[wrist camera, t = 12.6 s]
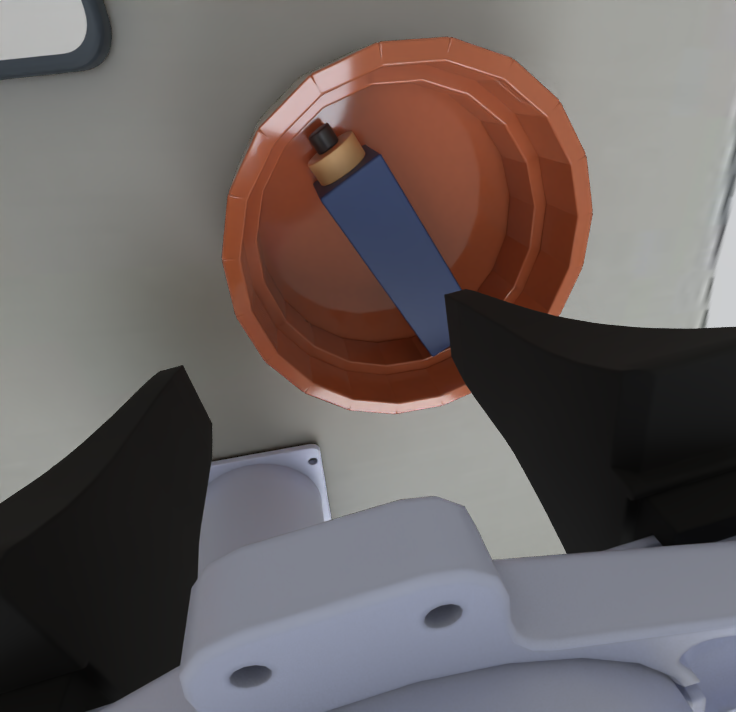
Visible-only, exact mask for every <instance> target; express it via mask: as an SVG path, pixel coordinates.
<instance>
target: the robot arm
mask: <svg viewBox="0 0 736 712" xmlns="http://www.w3.org/2000/svg"><path fill="white" fill-rule="evenodd" d="M444 297H445V306H446V314H447V323H448V331H449V340H450V348H451V357H452V359H453V361H454V363H455V365H456V367H457V369H458V371H459V373H460V375H461V377H462V379H463V381H464V383H465V384H466V386H467V387H468V389H469V390H470V391H471V393H472V394H473V396H474V397H475V399H476V400H477V401H478V403H479V404H480V405H481V407H482V408H483V410H484V411H485V412H486V414H487V415H488V417H489V418H490V419H491V421H492V422H493V423H494V425H495V426H496V428H497V429H498V430H499V432H500V433H501V434H502V436H503V437H504V439H505V440H506V442H507V443H508V445H509V446H510V448H511V449H512V451H513V452H514V454H515V456H516V458H517V459H518V461H519V463H520V465H521V467H522V468H523V470H524V472H525V474H526V476H527V477H528V479H529V481H530V483H531V485H532V487H533V488H534V490H535V492H536V494H537V496H538V498H539V500H540V502H541V504H542V505H543V507H544V509H545V511H546V513H547V515H548V517H549V519H550V521H551V523H552V525H553V527H554V529H555V531H556V533H557V535H558V537H559V539H560V541H561V543H562V545H563V547H564V549H565V551H566V553H567V554H559V555H547V556H534V557H521V558H508V559H496V560H492V558H491V556H490V554H489V552H488V550H487V548H486V546H485V544H484V542H483V540H482V537H481V535H480V533H479V531H478V529H477V527H476V525H475V523H474V522H473V520H472V518H471V517H470V515H469V513H468V511H467V510H466V508H465V506H462V505H460V504H457V503H454V502H451V501H448V500H446V499H443V498H440V497H437V496H428V497H419V498H409V499H400V500H396V501H393V502H390V503H386V504H383V505H379V506H376V507H373V508H369V509H366V510H363V511H359V512H356V513H352V514H349V515H346V516H342V517H339V518H335V519H331V513H330V507H329V501H328V495H327V488H326V482H325V476H324V470H323V464H322V458H321V452H320V448H319V446H318V445H316V444H307V445H301V446H296V447H290V448H285V449H279V450H274V451H268V452H263V453H257V454H252V455H246V456H241V457H235V458H230V459H224V460H219V461H213V462H211V461H212V422H211V420H210V418H209V416H208V414H207V412H206V410H205V408H204V406H203V404H202V402H201V400H200V398H199V396H198V394H197V392H196V390H195V388H194V386H193V384H192V382H191V380H190V378H189V376H188V374H187V372H186V370H185V368H184V366H183V365H181V366H178V367H174V368H170V369H166V370H163V371H160V372H158V373H157V374H156V375H154V376H153V377H152V378H151V379H150V380H149V381H147V382H146V383H145V384H144V385H143V386H142V387H141V388H140V389H139V390H138V391H137V392H136V393H135V394H134V395H133V396H132V397H131V398H130V399H129V400H128V401H127V402H126V403H125V404H124V405H123V406H122V407H121V408H120V409H119V410H118V411H117V412H116V413H115V414H114V415H113V416H112V417H111V418H109V419H108V420H107V421H106V422H105V423H104V424H103V425H102V426H101V427H100V428H99V429H97V430H96V431H95V432H94V433H93V434H92V435H91V436H90V437H89V438H88V439H86V440H85V441H84V442H83V443H82V444H81V445H80V446H78V447H77V448H76V449H75V450H74V451H73V452H71V453H70V454H69V455H68V456H66V457H65V458H64V459H63V460H61V461H60V462H59V463H57V464H56V465H55V466H53V467H52V468H51V469H50V470H48V471H47V472H46V473H44V474H43V475H42V476H40V477H39V478H37V479H36V480H34V481H33V482H31V483H30V484H29V485H27V486H26V487H24V488H23V489H21V490H20V491H18V492H17V493H15V494H14V495H12V496H11V497H9V498H8V499H6V500H5V501H3V502H2V503H0V712H736V327H721V328H698V329H669V328H640V327H627V326H616V325H606V324H599V323H591V322H586V321H580V320H574V319H568V318H564V317H559V316H555V315H551V314H547V313H543V312H539V311H535V310H532V309H529V308H525V307H522V306H519V305H515V304H512V303H509V302H506V301H503V300H500V299H497V298H494V297H491V296H489V295H486V294H482V293H479V292H476V291H473V290H468V289H464V290H460V291H456V292H453V293H449V294H445V295H444ZM311 458H316V459H314V460H310V459H311Z"/></svg>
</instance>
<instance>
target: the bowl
mask: <svg viewBox="0 0 736 712" xmlns="http://www.w3.org/2000/svg"><path fill="white" fill-rule="evenodd" d="M325 123H328V124H329V125H330V126H331V128H332V129H333V131H334V133H335V134H336V136H337V137H338V136H340V135H341V134H343V133H345V132H348V131H352V132H353V133H354V135H355V136H356V138H357V140H358V141H359V143H360V145H361V146H362V145H366V146H368V147H370V148H371V149H373V150H375V151H376V152H378V153H380V154H381V155H382V157H383V158H384V160H385V162H386V163H387V165H388V167H389V168H390V170H391V172H392V173H393V175H394V177H395V178H396V180H397V182H398V183H399V185H400V187H401V188H402V190H403V192H404V193H405V195H406V197H407V198H408V200H409V202H410V204H411V205H412V207H413V209H414V210H415V212H416V214H417V215H418V217H419V219H420V220H421V222H422V224H423V225H424V227H425V229H426V230H427V232H428V234H429V235H430V237H431V239H432V240H433V242H434V244H435V245H436V247H437V249H438V251H439V252H440V254H441V256H442V257H443V259H444V261H445V262H446V264H447V266H448V267H449V269H450V271H451V272H452V274H453V276H454V277H455V279H456V281H457V282H458V284H459V286H460V287H461V289H462V290H464V289H468V290H473V291H476V292H479V293H482V294H486V295H489V296H491V297H494V298H497V299H500V300H503V301H506V302H509V303H512V304H515V305H519V306H522V307H525V308H529V309H532V310H535V311H539V312H543V313H547V314H551V315H555V316H559V315H560V314H561V312H562V309H563V307H564V305H565V303H566V301H567V299H568V297H569V295H570V293H571V291H572V288H573V286H574V284H575V282H576V280H577V278H578V276H579V274H580V272H581V270H582V267H583V263H584V258H585V253H586V247H587V242H588V236H589V231H590V225H591V220H592V215H593V213H592V211H593V209H592V200H591V192H590V183H589V174H588V165H587V157H586V155H585V151H584V149H583V147H582V145H581V143H580V141H579V139H578V137H577V135H576V133H575V131H574V129H573V127H572V125H571V123H570V121H569V119H568V116H567V114H566V112H565V110H564V108H563V106H562V104H561V102H559V99H558V98H557V97H555V96H554V95H553V94H552V93H551V92H550V91H549V90H548V89H547V88H546V87H544V86H543V85H542V84H541V83H540V82H539V81H538V80H537V79H536V78H535V77H533V76H532V75H531V74H530V73H529V72H528V71H527V70H526V69H525V68H524V67H522V66H521V65H520V64H519V63H518V62H517V61H516V60H515V59H512V58H511V57H508V56H506V55H503V54H500V53H497V52H494V51H491V50H488V49H485V48H482V47H479V46H477V45H474V44H471V43H468V42H465V41H462V40H459V39H456V38H453V37H434V38H419V39H405V40H391V41H380V42H376V43H373V44H370V45H368V46H365V47H362V48H360V49H357V50H355V51H352V52H350V53H348V54H346V55H343V56H341V57H339V58H337V59H335V60H333V61H331V62H329V63H327V64H325V65H323V66H321V67H319V68H317V69H314V70H312V71H310V72H308V73H306V74H304V75H302V76H301V77H299V78H298V79H297V80H296V81H295V82H294V83H293V84H292V85H291V86H290V87H289V88H288V89H287V90H286V92H285V93H284V94H283V95H282V96H281V97H280V98H279V99H278V100H277V101H276V102H275V103H274V104H273V105H272V106H271V107H270V108H269V109H268V110H267V111H266V112H265V113H264V114H263V115H262V116H261V118H260V120H259V121H258V123H257V125H256V127H255V129H254V131H253V134H252V136H251V138H250V140H249V142H248V145H247V147H246V149H245V151H244V153H243V156H242V158H241V160H240V162H239V164H238V167H237V169H236V172H235V174H234V177H233V180H232V183H231V186H230V189H229V193H228V196H227V206H226V216H225V226H224V237H223V247H222V263H223V267H224V272H225V276H226V280H227V284H228V288H229V292H230V296H231V300H232V304H233V308H234V313H235V315H236V318H237V320H238V321H239V323H240V324H241V326H242V327H243V329H244V330H245V332H246V334H247V335H248V337H249V338H250V340H251V341H252V343H253V344H254V346H255V347H256V349H257V351H258V352H259V354H260V355H261V357H262V358H263V360H264V361H265V362H266V363H267V364H268V365H270V366H271V367H272V368H273V369H275V370H276V371H277V372H279V373H280V374H281V375H282V376H284V377H285V378H286V379H287V380H289V381H290V382H291V383H292V384H294V385H295V386H296V387H297V388H299V389H300V390H301V391H302V392H305V393H306V394H308V395H311V396H314V397H316V398H319V399H321V400H324V401H327V402H329V403H332V404H334V405H337V406H340V407H342V408H345V409H347V410H348V409H349V410H351V411H363V412H375V413H387V414H399V413H404V412H410V411H416V410H421V409H427V408H433V407H438V406H442V405H445V404H448V403H450V402H452V401H454V400H457V399H459V398H461V397H463V396H466V395H468V394H470V393H471V391H470V390H469V389H468V387H467V386H466V384H465V383H464V381H463V379H462V377H461V375H460V373H459V371H458V369H457V367H456V365H455V363H454V361H453V359H452V357H451V348H450V346H449V347H448V348H446V349H445V350H443V351H442V352H440V353H439V354H437V355H436V356H434V357H433V356H431V355H430V353H429V352H428V350H427V349H426V348H425V346H424V345H423V343H422V342H421V341H420V339H419V338H418V336H417V335H416V334H415V332H414V331H413V329H412V328H411V327H410V325H409V324H408V322H407V321H406V320H405V318H404V317H403V315H402V314H401V313H400V311H399V310H398V308H397V307H396V306H395V304H394V303H393V301H392V300H391V299H390V297H389V296H388V294H387V293H386V292H385V290H384V289H383V287H382V286H381V285H380V283H379V282H378V280H377V279H376V278H375V276H374V275H373V273H372V272H371V271H370V269H369V268H368V266H367V265H366V264H365V262H364V261H363V259H362V258H361V257H360V255H359V254H358V252H357V251H356V250H355V248H354V247H353V245H352V244H351V243H350V241H349V240H348V238H347V237H346V236H345V234H344V233H343V231H342V230H341V229H340V227H339V226H338V224H337V223H336V222H335V220H334V219H333V217H332V216H331V215H330V213H329V212H328V210H327V209H326V208H325V206H324V205H323V203H322V202H321V200H320V198H319V196H318V194H317V192H316V190H315V188H314V185H313V184H314V182H315V181H317V178H316V177H315V175H314V174H313V172H312V171H311V170H310V168H309V167H308V162H309V161H310V159H311V158H312V157H313V156H314V155H315V154H316V153H317V151H316V150H315V148H314V147H313V146H312V144H311V143H310V141H309V139H308V137H309V136H310V135H311V134H312V133H313V132H314V131H315V130H316V129H317V128H319V127H320V126H322V125H323V124H325Z"/></svg>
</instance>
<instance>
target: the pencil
mask: <svg viewBox="0 0 736 712" xmlns="http://www.w3.org/2000/svg"><path fill="white" fill-rule="evenodd" d="M308 139H309V141H310V143H311V144H312V146H313V147H314V148H315V150H316V151H317V153H316V154H315V155H314V156H313V157H312V158H311V159H310V161H309V162H308V167H309V168H310V170H311V171H312V172H313V174H314V175H315V177H316V178H317V181H315V182H314V184H313V185H314V188H315V190H316V192H317V194H318V196H319V198H320V200H321V202H322V203H323V205H324V206H325V208H326V209H327V210H328V212H329V213H330V215H331V216H332V217H333V219H334V220H335V222H336V223H337V224H338V226H339V227H340V229H341V230H342V231H343V233H344V234H345V236H346V237H347V238H348V240H349V241H350V243H351V244H352V245H353V247H354V248H355V250H356V251H357V252H358V254H359V255H360V257H361V258H362V259H363V261H364V262H365V264H366V265H367V266H368V268H369V269H370V271H371V272H372V273H373V275H374V276H375V278H376V279H377V280H378V282H379V283H380V285H381V286H382V287H383V289H384V290H385V292H386V293H387V294H388V296H389V297H390V299H391V300H392V301H393V303H394V304H395V306H396V307H397V308H398V310H399V311H400V313H401V314H402V315H403V317H404V318H405V320H406V321H407V322H408V324H409V325H410V327H411V328H412V329H413V331H414V332H415V334H416V335H417V336H418V338H419V339H420V341H421V342H422V343H423V345H424V346H425V348H426V349H427V350H428V352H429V353H430V355H431V356H433V357H434V356H436V355H437V354H439V353H440V352H442V351H443V350H445V349H446V348H448V347H449V346H450V340H449V331H448V323H447V314H446V306H445V297H444V295H445V294H449V293H453V292H456V291H460V290H462V289H461V287H460V286H459V284H458V282H457V281H456V279H455V277H454V276H453V274H452V272H451V271H450V269H449V267H448V266H447V264H446V262H445V261H444V259H443V257H442V256H441V254H440V252H439V251H438V249H437V247H436V245H435V244H434V242H433V240H432V239H431V237H430V235H429V234H428V232H427V230H426V229H425V227H424V225H423V224H422V222H421V220H420V219H419V217H418V215H417V214H416V212H415V210H414V209H413V207H412V205H411V204H410V202H409V200H408V198H407V197H406V195H405V193H404V192H403V190H402V188H401V187H400V185H399V183H398V182H397V180H396V178H395V177H394V175H393V173H392V172H391V170H390V168H389V167H388V165H387V163H386V162H385V160H384V158H383V157H382V155H381V154H380V153H378V152H376V151H375V150H373V149H371V148H370V147H368V146H366V145H362V146H361V145H360V143H359V141H358V140H357V138H356V136H355V135H354V133H353V132H352V131H348V132H345V133H343V134H341V135H340V136H338V137H337V136H336V134H335V133H334V131H333V129H332V128H331V126H330V125H329V124H328V123H325V124H323V125H322V126H320V127H319V128H317V129H316V130H315V131H314V132H313V133H312V134H311V135H310V136H309V137H308Z"/></svg>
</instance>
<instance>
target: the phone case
mask: <svg viewBox="0 0 736 712" xmlns="http://www.w3.org/2000/svg"><path fill="white" fill-rule="evenodd" d="M111 40H112V32H111V25H110V21H109V18H108V14H107V11H106V8H105V5H104V2H103V0H0V80H4V79H13V78H22V77H31V76H40V75H49V74H59V73H68V72H77V71H85V70H89V69H92V68H94V67H96V66H98V65H99V64H100V63H102V62H103V61H104V59H105V58H106V56H107V55H108V53H109V50H110V47H111Z"/></svg>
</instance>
